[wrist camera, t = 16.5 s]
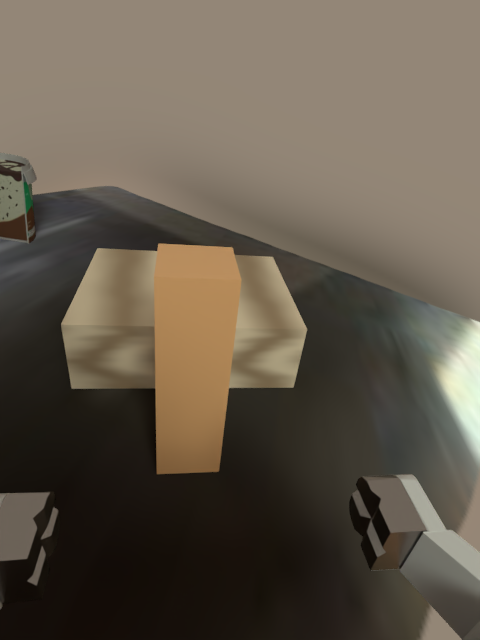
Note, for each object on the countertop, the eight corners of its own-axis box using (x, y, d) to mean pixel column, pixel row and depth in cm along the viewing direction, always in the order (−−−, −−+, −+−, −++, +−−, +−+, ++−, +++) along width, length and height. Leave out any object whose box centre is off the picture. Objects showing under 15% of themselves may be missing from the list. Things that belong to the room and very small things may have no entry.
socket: (71, 388, 30) (61, 324, 27) (102, 300, 42) (97, 248, 39) (293, 387, 33) (307, 329, 30) (264, 305, 45) (272, 256, 42)
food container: (63, 230, 58) (53, 159, 53) (39, 244, 53) (25, 167, 47) (-15, 218, 59) (-33, 147, 53) (-46, 231, 53) (-69, 153, 48)
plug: (156, 474, 25) (153, 276, 18) (159, 426, 28) (158, 243, 21) (218, 471, 26) (241, 280, 18) (214, 425, 29) (232, 247, 21)
